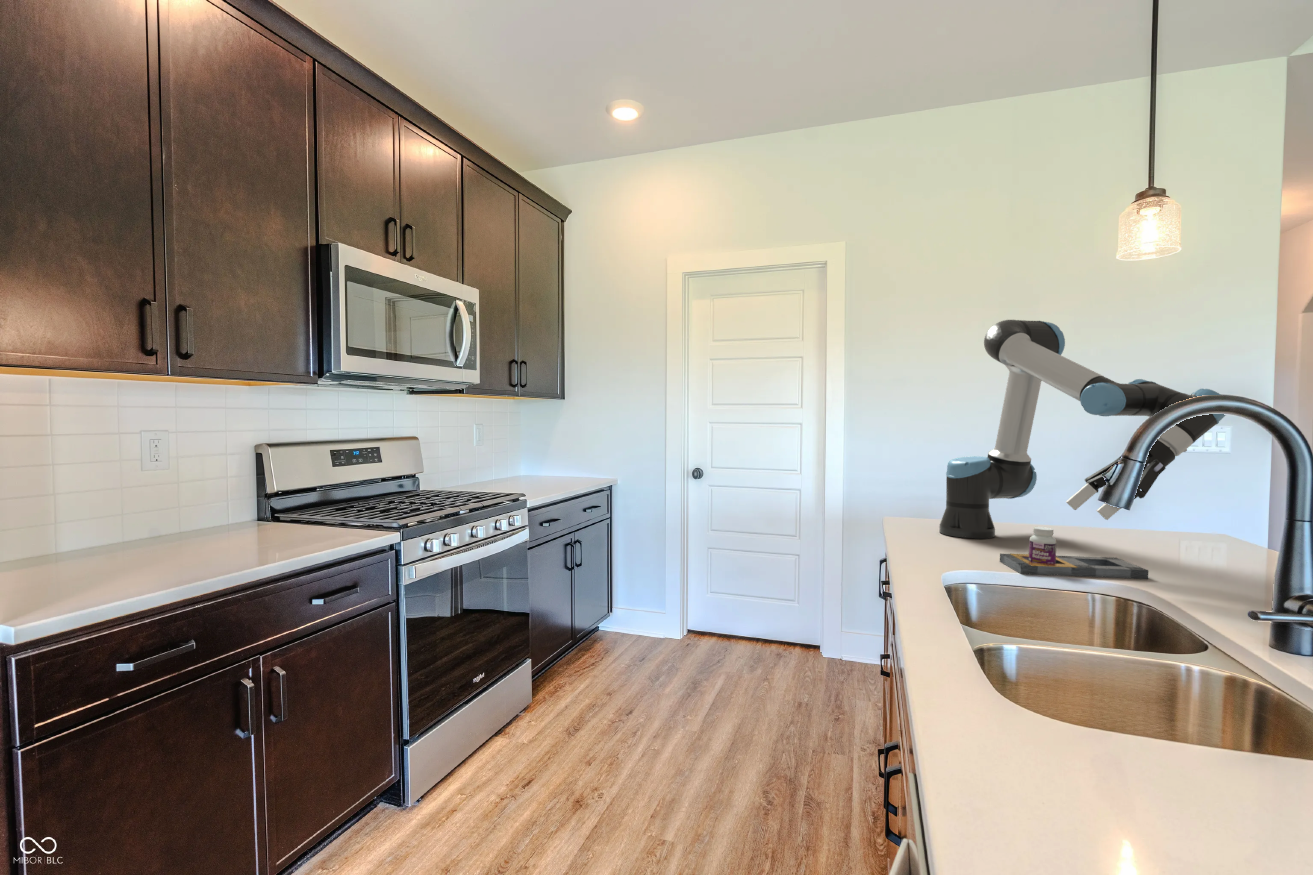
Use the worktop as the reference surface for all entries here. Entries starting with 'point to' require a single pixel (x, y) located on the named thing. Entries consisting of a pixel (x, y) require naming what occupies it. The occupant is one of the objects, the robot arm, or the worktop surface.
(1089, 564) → the rail plate
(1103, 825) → the worktop surface
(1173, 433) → the robot arm
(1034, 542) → the pill bottle
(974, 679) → the worktop surface
